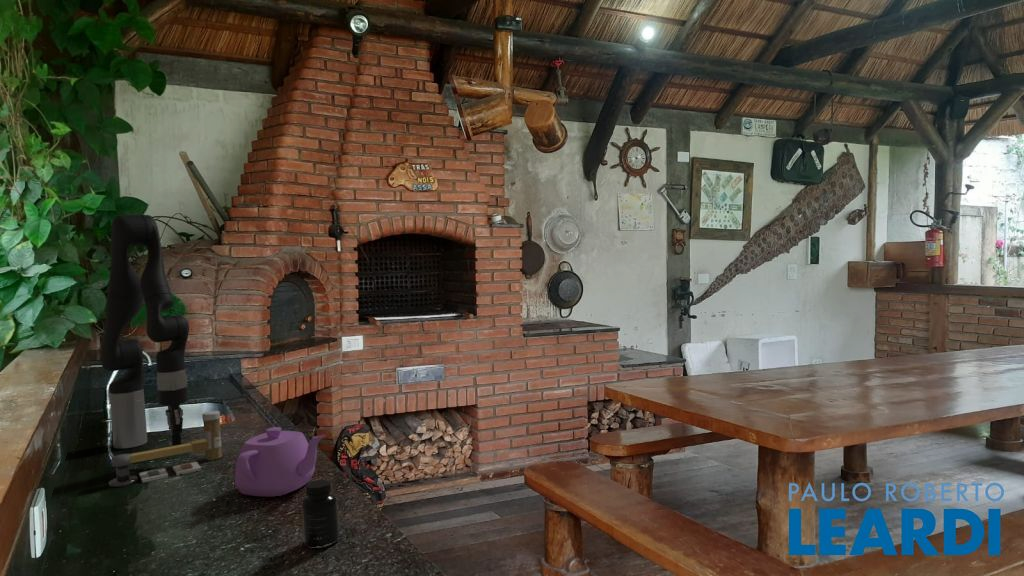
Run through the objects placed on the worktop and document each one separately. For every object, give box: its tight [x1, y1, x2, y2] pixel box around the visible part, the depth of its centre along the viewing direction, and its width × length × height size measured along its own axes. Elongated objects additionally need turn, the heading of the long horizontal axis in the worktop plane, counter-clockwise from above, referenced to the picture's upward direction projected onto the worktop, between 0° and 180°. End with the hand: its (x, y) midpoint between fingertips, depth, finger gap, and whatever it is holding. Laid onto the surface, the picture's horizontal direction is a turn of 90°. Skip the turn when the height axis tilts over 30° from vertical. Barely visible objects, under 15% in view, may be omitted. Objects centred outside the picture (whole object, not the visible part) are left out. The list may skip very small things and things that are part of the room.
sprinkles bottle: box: [201, 410, 223, 461], centre depth 187 cm, size 5×5×14 cm
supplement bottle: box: [301, 479, 340, 547], centre depth 129 cm, size 7×7×12 cm
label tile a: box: [139, 467, 169, 484], centre depth 173 cm, size 7×6×1 cm
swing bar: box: [111, 438, 208, 468], centre depth 174 cm, size 4×22×2 cm, turn 125°
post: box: [108, 465, 138, 488], centre depth 169 cm, size 6×6×5 cm
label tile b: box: [172, 460, 202, 476], centre depth 177 cm, size 7×6×1 cm
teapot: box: [234, 426, 326, 498], centre depth 157 cm, size 23×21×15 cm
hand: (176, 446), depth 184 cm, fingers closed
